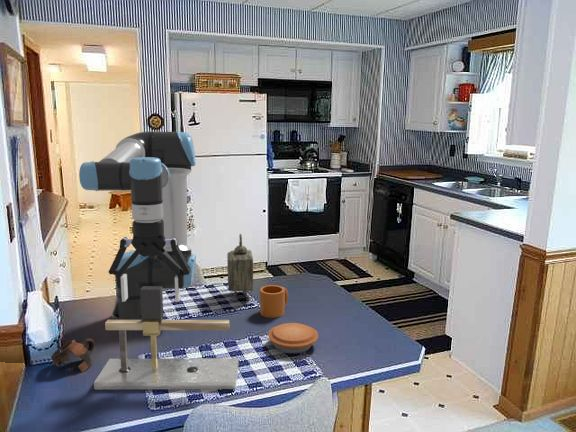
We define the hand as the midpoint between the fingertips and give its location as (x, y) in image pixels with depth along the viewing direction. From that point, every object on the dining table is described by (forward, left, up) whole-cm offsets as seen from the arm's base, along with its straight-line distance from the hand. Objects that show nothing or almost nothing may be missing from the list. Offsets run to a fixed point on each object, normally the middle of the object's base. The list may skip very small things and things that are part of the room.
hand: (151, 299), depth 120 cm
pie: (-18, +38, -23) cm, 48 cm away
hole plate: (0, +4, -22) cm, 22 cm away
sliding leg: (0, 0, -20) cm, 20 cm away
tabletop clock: (-58, +19, -22) cm, 65 cm away
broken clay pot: (-7, -24, -22) cm, 33 cm away
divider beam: (0, +4, -20) cm, 20 cm away
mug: (-43, +33, -22) cm, 59 cm away
